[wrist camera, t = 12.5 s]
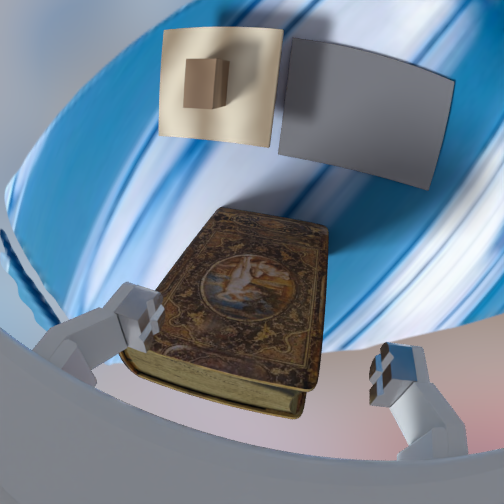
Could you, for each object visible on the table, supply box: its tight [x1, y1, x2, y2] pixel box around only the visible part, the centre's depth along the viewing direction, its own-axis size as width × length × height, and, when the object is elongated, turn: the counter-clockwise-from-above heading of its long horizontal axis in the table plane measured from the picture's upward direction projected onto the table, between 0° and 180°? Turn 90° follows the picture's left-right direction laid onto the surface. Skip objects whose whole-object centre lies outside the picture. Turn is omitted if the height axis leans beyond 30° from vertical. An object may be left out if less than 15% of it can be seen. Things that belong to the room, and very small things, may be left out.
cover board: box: [159, 27, 284, 148], centre depth 25 cm, size 13×13×5 cm
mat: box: [278, 38, 454, 191], centre depth 29 cm, size 20×15×1 cm
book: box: [119, 207, 329, 419], centre depth 31 cm, size 16×6×25 cm, turn 86°
